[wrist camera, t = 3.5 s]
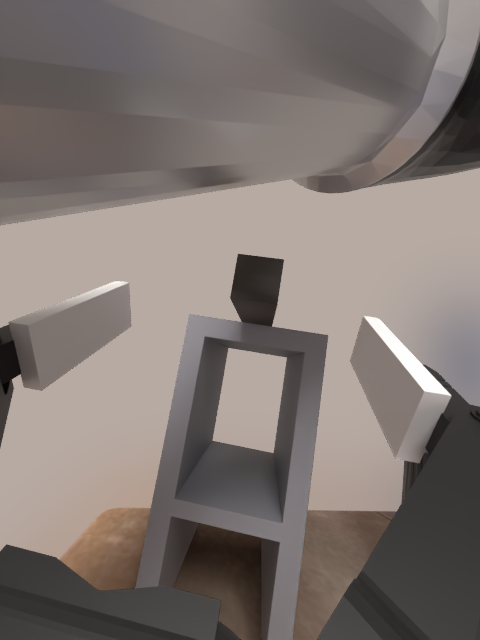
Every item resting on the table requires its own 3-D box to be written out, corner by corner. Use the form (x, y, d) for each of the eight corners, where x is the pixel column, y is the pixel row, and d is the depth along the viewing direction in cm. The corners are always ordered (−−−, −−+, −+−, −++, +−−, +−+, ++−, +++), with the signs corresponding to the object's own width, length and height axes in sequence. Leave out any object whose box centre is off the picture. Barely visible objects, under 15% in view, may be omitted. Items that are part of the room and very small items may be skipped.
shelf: (274, 545, 40) (300, 346, 45) (284, 701, 22) (328, 333, 26) (185, 523, 42) (219, 333, 46) (122, 651, 23) (189, 312, 28)
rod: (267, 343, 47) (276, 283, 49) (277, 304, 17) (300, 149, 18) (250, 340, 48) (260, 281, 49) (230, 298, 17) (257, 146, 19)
